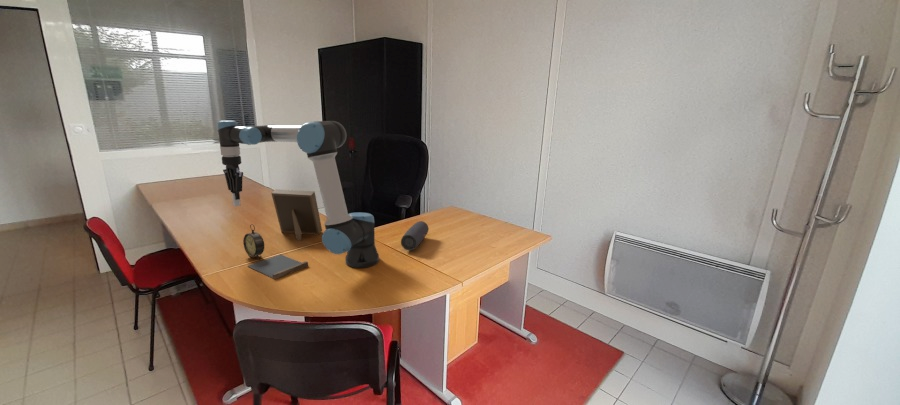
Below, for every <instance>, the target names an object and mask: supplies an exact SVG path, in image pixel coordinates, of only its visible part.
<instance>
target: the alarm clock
mask: <svg viewBox="0 0 900 405" xmlns="http://www.w3.org/2000/svg"><path fill="white" fill-rule="evenodd" d="M252 226H253V228H252ZM249 227H250V230H251V232H250V233H249V232H248V233H246V234H245V235H243V242H242V243H243V248H244V250H245V252H246V255H248V257H250V258H253V257H257V260H258V261H261V259H260V256H262V254H263V253H264V251H265V241H264V238H263V237H262V235H261V234H260V233H259V232H257V231H255V229H256V227H255V225H254V224H252V223H251V224H250V225H249Z"/></svg>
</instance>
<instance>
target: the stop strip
mask: <svg viewBox="0 0 900 405" xmlns="http://www.w3.org/2000/svg"><path fill="white" fill-rule="evenodd" d="M307 267H309V262H308V261H306V260H305V261H303V262H301V263H300V264H297V265H294V266H292V267H289V268H287V269H284V270H281V271H279V272H276V273H274V274H272V275H273V278H272V279H273V280H277V279H279V278H282V277H284V276H287V275H290V274H291V273H295V272H296V271H300V270H302V269H304V268H307Z"/></svg>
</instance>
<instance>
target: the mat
mask: <svg viewBox="0 0 900 405" xmlns="http://www.w3.org/2000/svg"><path fill="white" fill-rule="evenodd" d="M300 263H302V262H300V261H298V260H296V259H293V258H291V257H289V256H286V255H283V254H277V255H274V256H271V257H269V258H266V259H263V260H259V261H257V262H255V263H252V264H249V265H247V267H248V268H249V269H252V270H254V271H256V272H258V273H260V274H262V275H265V276H267V277H269V278H271V279H273V275H272V274H274V273H276V272H279V271H281V270H284V269H287V268H289V267H292V266H294V265H297V264H300Z"/></svg>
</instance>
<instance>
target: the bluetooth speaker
mask: <svg viewBox="0 0 900 405" xmlns="http://www.w3.org/2000/svg"><path fill="white" fill-rule="evenodd" d="M429 230H430V229H429V225H428V224H427V223H426V222H425V221H423V220H422V221H421V220H419V221H416V222H415V223H413V225H412V226H410V228H408V230H406V232H405V233H404V235H403V236H402V237H401V240H400V244H401V247H402V248H403V249H404V250H406V251H413V250H415V249H416V248H418V246H419V245H420V244H421V243H422V242H423V240H424V239H426V238H425V237H427V235H428V232H429Z"/></svg>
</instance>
